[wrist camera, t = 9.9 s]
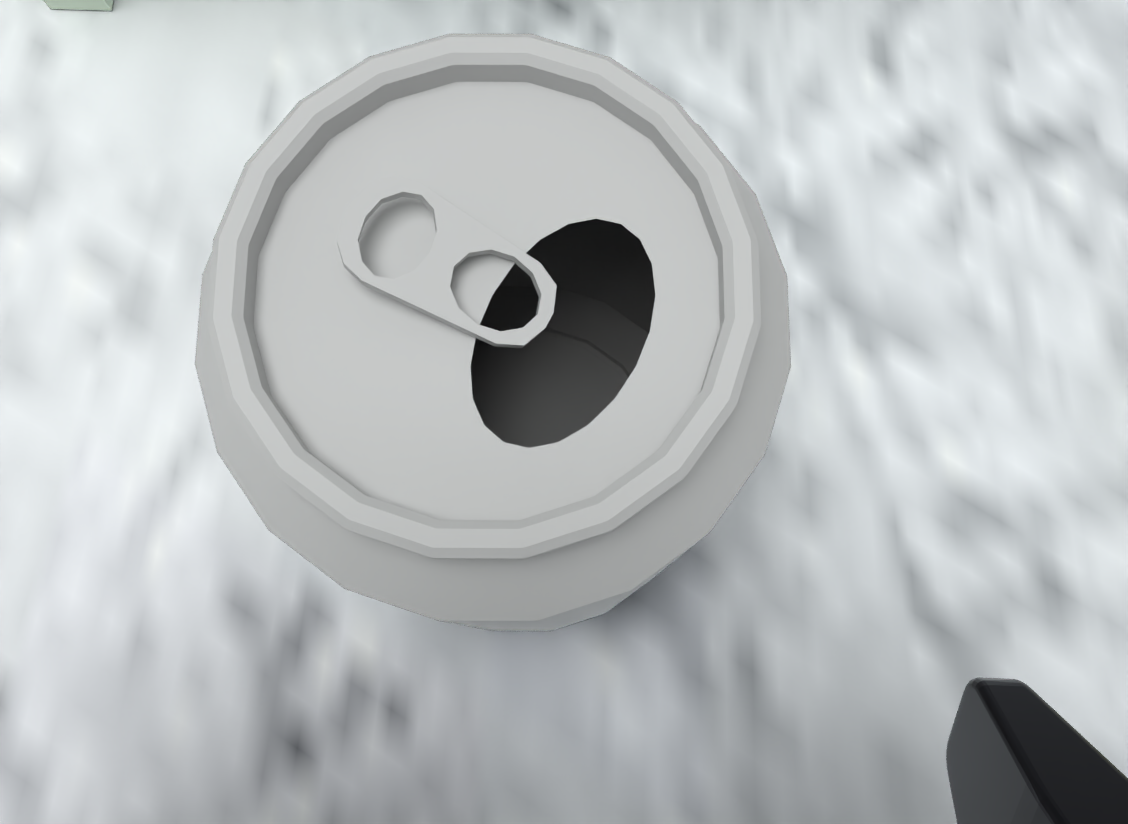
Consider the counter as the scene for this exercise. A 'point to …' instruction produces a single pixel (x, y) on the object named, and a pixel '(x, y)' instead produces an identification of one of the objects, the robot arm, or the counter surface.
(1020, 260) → the counter surface
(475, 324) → the can
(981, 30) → the counter surface
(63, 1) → the shelf
